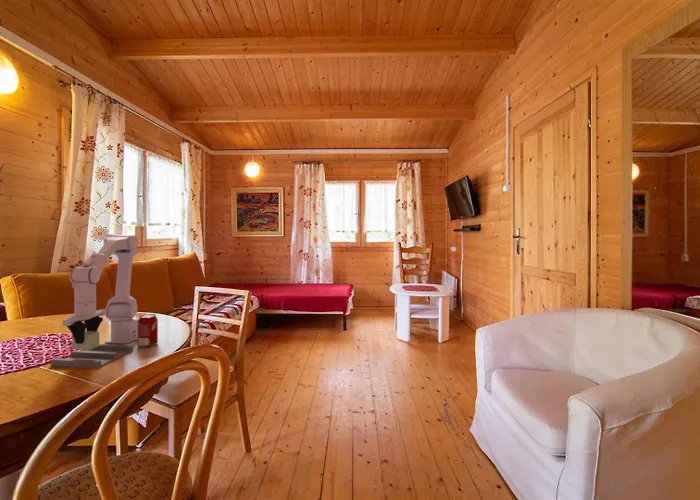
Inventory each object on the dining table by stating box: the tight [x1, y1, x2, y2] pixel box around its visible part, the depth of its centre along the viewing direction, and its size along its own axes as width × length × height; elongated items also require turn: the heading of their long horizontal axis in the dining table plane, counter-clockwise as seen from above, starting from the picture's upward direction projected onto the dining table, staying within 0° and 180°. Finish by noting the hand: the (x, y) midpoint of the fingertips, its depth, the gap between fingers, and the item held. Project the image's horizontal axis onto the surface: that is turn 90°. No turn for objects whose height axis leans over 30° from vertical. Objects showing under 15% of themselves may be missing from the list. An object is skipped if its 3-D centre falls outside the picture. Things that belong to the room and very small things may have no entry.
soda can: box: [137, 313, 159, 348], centre depth 127 cm, size 7×7×12 cm
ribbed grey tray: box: [50, 343, 134, 369], centre depth 112 cm, size 16×16×2 cm
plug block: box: [71, 330, 100, 351], centre depth 108 cm, size 6×4×5 cm, turn 88°
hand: (85, 341), depth 108 cm, fingers closed on plug block, 4 cm apart
